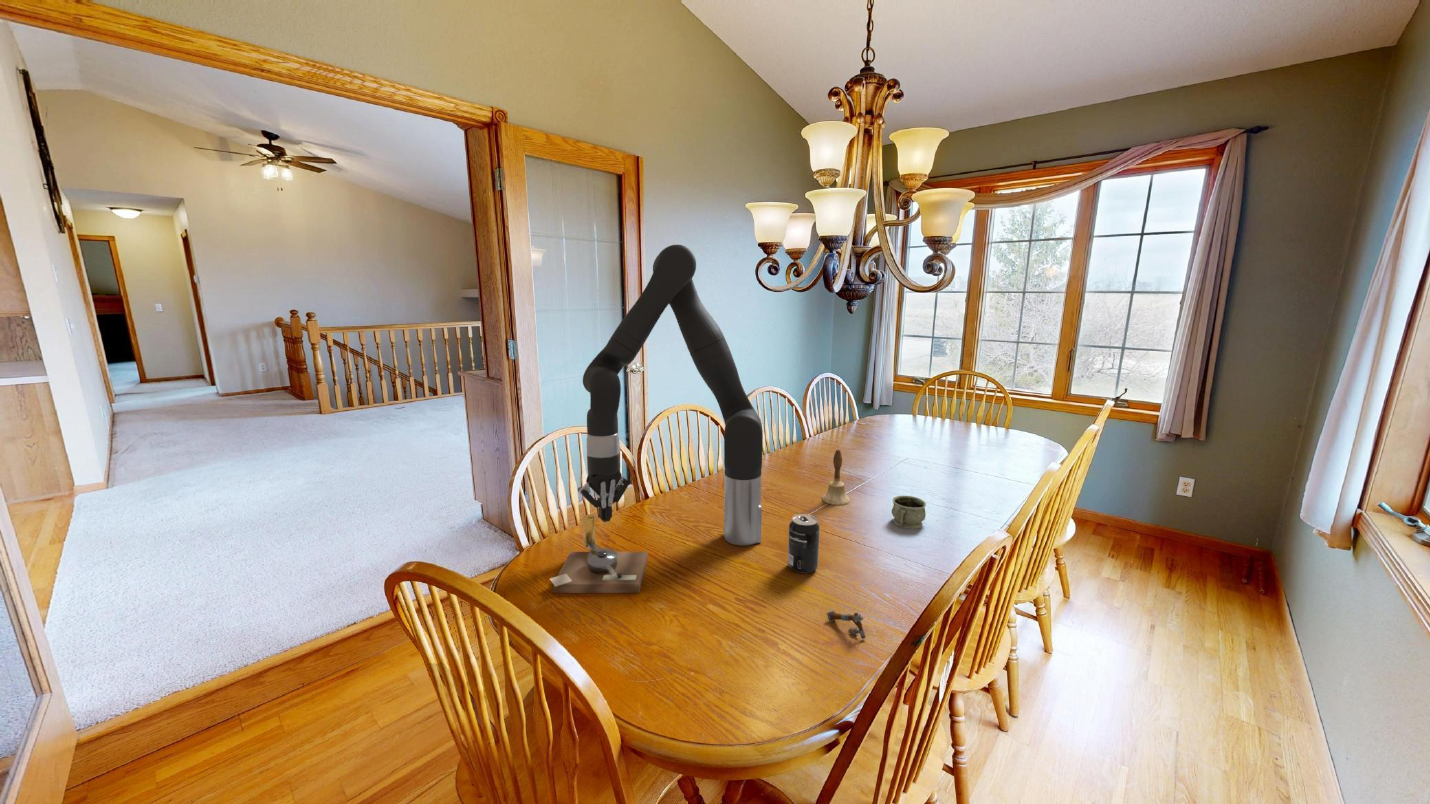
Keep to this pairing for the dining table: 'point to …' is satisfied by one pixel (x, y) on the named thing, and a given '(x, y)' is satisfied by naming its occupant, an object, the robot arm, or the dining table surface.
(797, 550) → the beverage can
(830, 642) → the dining table surface
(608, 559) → the capstan
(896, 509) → the vessel
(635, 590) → the stand
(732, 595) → the dining table surface
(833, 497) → the hand bell
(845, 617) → the brown grey angled piece
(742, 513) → the robot arm
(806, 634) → the dining table surface
